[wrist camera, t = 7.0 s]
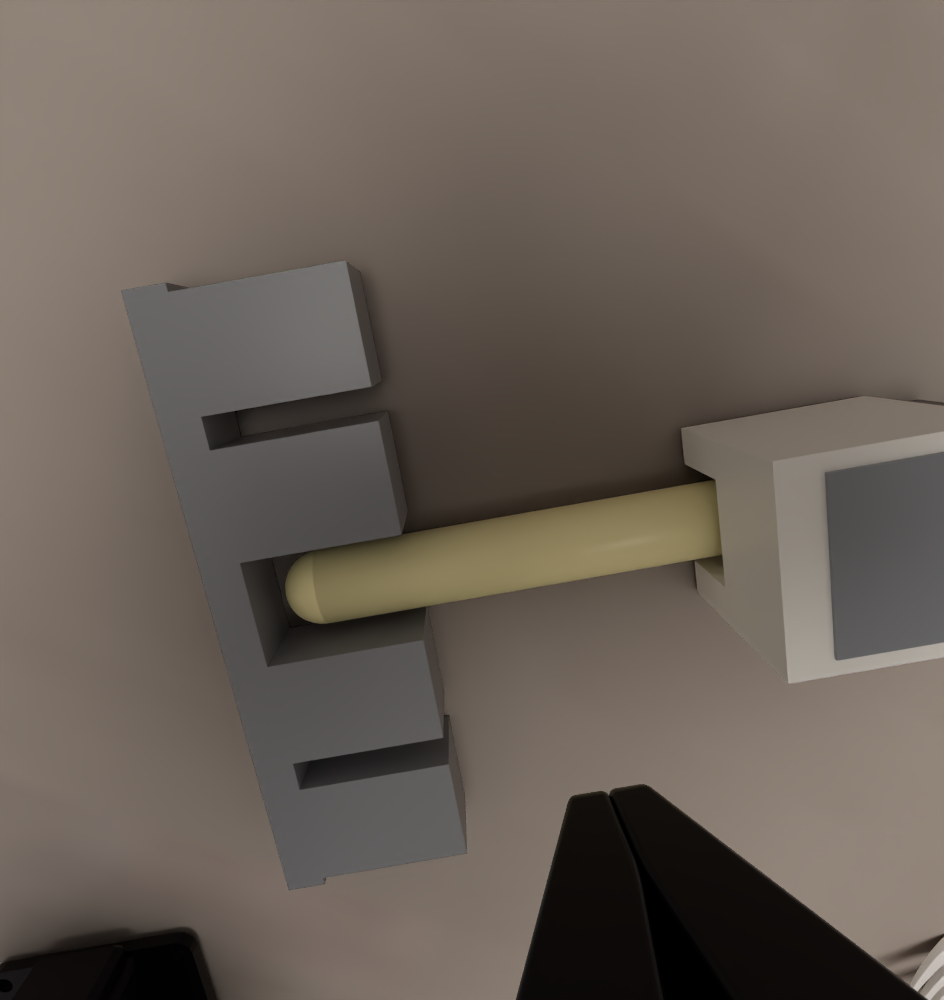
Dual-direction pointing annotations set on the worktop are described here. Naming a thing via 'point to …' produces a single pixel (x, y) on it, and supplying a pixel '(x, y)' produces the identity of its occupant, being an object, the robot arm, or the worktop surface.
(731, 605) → the grey block
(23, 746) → the worktop surface
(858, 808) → the worktop surface
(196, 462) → the cord rig
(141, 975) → the robot arm
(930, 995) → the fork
